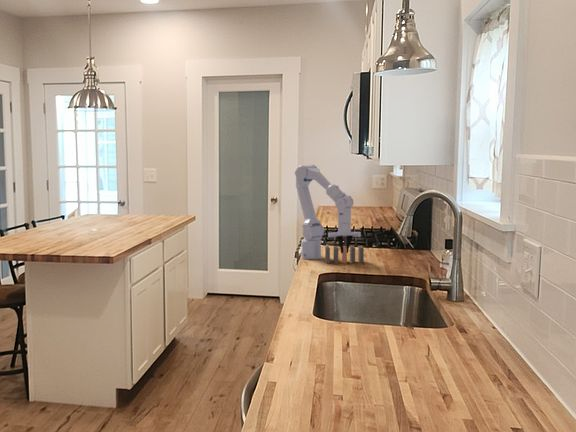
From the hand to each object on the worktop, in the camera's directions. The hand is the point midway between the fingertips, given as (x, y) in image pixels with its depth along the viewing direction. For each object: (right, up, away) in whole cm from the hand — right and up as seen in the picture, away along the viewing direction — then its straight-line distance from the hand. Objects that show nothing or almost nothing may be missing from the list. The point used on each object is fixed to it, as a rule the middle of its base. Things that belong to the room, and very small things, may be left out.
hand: (344, 252), depth 225 cm
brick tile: (0, -4, +1) cm, 5 cm away
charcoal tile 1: (+8, -4, +1) cm, 9 cm away
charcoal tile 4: (-4, -4, 0) cm, 6 cm away
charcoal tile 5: (-8, -5, 0) cm, 9 cm away
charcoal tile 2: (+4, -4, +1) cm, 6 cm away
